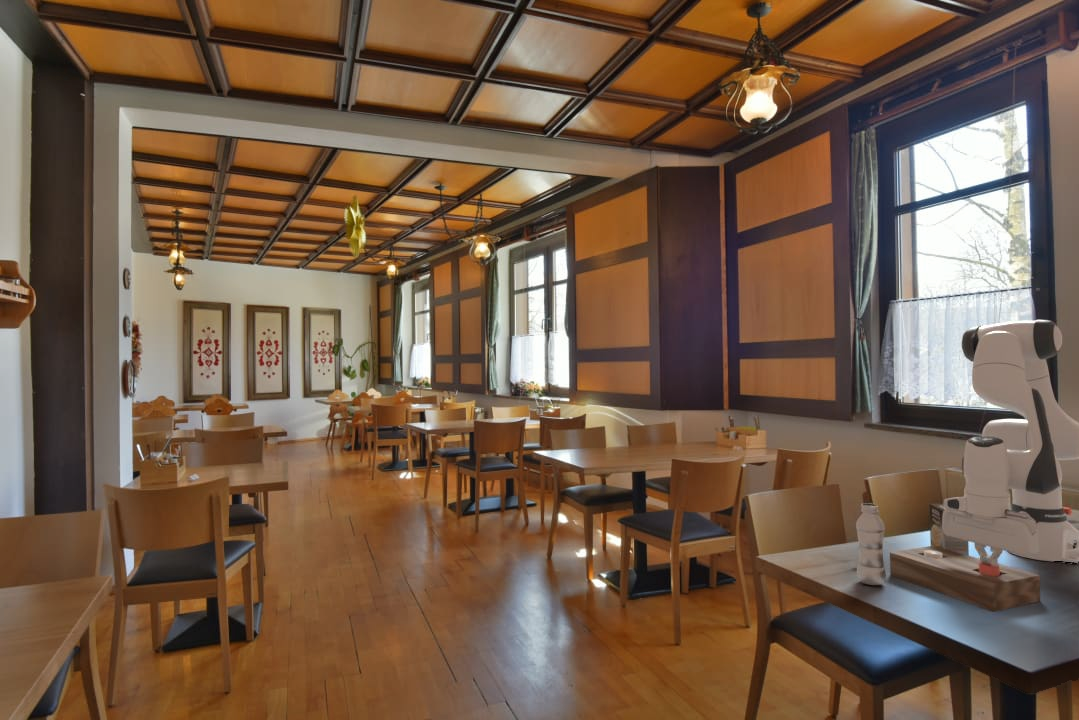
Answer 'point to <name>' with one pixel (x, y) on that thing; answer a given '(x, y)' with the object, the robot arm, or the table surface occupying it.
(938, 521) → the coffee box
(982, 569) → the red plug
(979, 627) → the table surface
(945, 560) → the plug housing
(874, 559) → the plastic bottle
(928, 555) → the plug
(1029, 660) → the table surface
